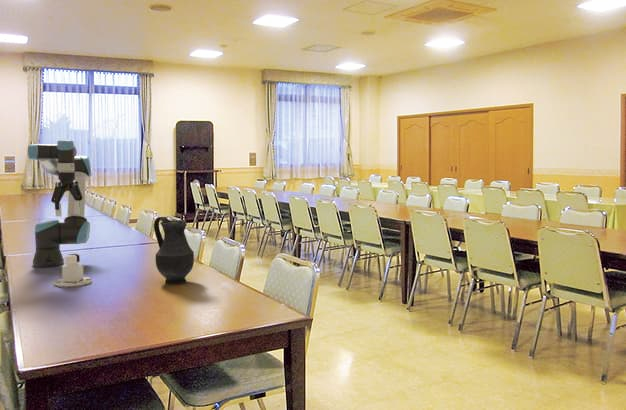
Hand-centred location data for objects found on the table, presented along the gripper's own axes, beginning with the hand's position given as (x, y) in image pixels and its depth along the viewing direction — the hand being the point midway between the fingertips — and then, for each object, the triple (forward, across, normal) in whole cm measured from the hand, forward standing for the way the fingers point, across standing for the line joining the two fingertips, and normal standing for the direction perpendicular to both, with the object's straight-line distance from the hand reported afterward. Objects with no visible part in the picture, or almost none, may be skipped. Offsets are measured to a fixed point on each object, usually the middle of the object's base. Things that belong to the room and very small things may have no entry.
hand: (67, 215), depth 286 cm
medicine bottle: (+28, -20, -17) cm, 38 cm away
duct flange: (+29, -20, -17) cm, 39 cm away
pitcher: (+29, -5, -59) cm, 66 cm away
